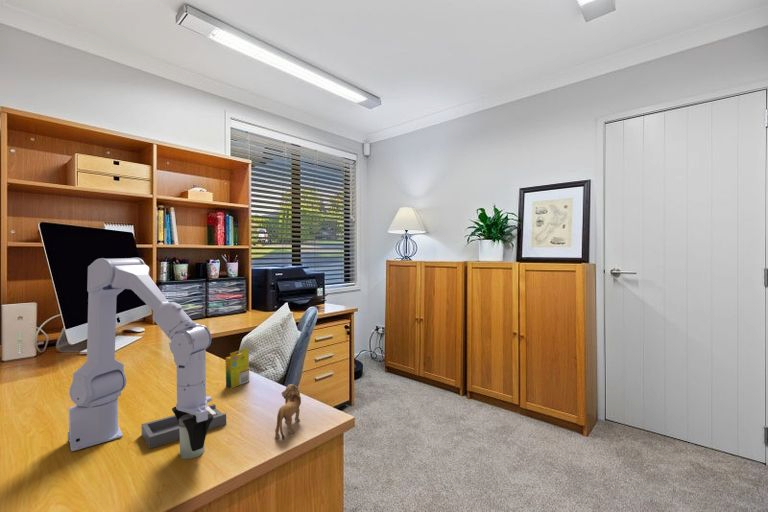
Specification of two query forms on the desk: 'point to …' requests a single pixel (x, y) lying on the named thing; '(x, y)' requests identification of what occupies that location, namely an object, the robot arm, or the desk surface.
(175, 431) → the pusher lane
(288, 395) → the lion figurine
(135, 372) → the desk surface
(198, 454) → the jar
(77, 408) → the robot arm
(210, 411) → the pusher
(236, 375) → the crayon box
